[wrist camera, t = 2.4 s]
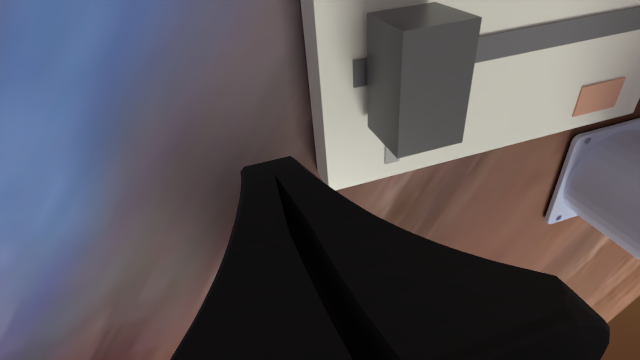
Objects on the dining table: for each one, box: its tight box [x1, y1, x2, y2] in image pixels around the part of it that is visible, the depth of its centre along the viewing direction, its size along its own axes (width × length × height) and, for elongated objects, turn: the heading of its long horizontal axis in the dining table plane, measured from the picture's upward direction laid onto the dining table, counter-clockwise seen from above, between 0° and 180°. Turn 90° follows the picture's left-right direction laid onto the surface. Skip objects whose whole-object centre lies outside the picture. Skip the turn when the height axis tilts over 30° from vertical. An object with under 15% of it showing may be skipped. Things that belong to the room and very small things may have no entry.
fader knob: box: [367, 2, 482, 159], centre depth 16 cm, size 3×5×3 cm, turn 4°
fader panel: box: [300, 0, 640, 190], centre depth 19 cm, size 20×12×2 cm, turn 94°
